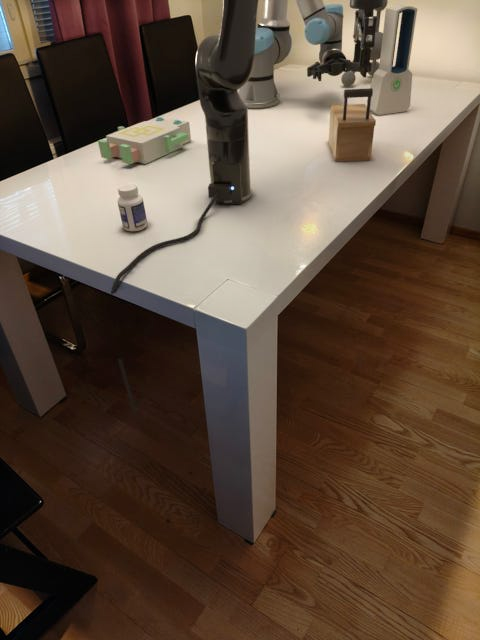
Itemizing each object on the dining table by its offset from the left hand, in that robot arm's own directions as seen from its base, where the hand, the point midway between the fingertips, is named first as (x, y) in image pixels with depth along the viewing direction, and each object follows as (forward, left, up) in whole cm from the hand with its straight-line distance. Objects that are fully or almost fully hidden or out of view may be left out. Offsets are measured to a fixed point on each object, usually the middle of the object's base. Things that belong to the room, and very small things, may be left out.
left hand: (361, 63), depth 117 cm
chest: (+6, +1, -23) cm, 24 cm away
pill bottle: (-42, +47, -23) cm, 67 cm away
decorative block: (+6, +59, -23) cm, 63 cm away
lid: (+6, +1, -14) cm, 15 cm away
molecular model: (+85, -8, -23) cm, 88 cm away
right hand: (+33, +3, -9) cm, 34 cm away
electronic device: (+46, -13, -23) cm, 53 cm away
